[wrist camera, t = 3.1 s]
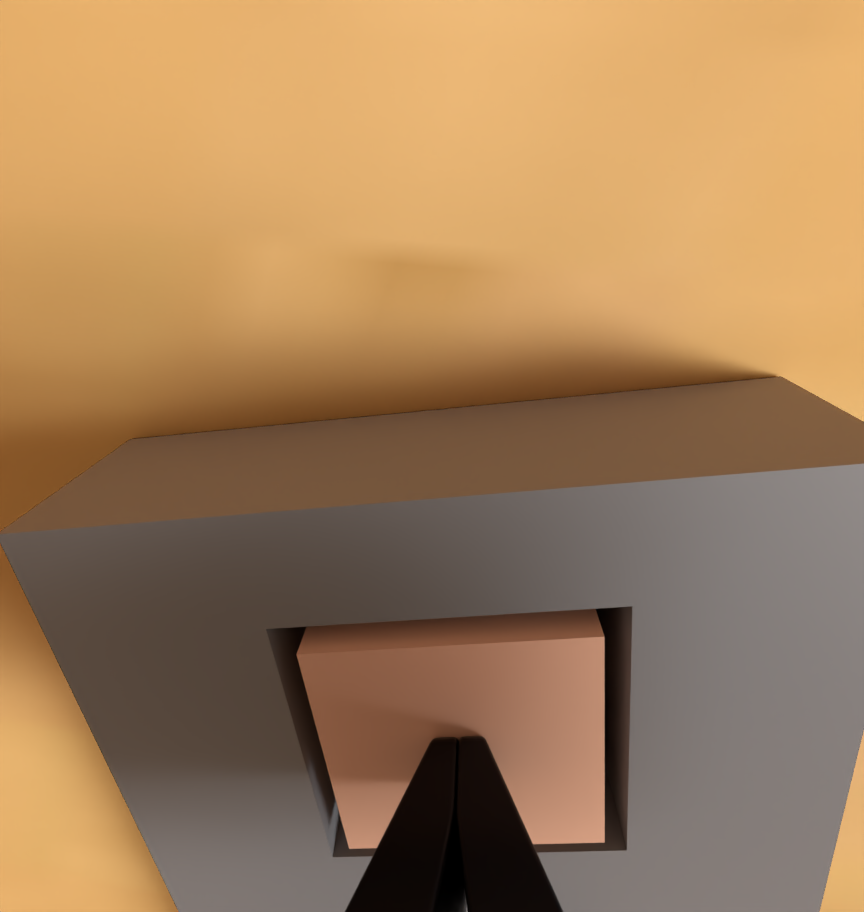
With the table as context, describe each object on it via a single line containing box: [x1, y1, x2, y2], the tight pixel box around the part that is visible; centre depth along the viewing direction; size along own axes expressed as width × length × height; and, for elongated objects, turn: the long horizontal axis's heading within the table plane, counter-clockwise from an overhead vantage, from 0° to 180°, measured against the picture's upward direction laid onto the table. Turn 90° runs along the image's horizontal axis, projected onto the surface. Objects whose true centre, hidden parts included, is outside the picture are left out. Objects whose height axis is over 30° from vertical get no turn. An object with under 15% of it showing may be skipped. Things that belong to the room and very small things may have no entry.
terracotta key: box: [296, 609, 605, 849], centre depth 10 cm, size 4×4×2 cm
